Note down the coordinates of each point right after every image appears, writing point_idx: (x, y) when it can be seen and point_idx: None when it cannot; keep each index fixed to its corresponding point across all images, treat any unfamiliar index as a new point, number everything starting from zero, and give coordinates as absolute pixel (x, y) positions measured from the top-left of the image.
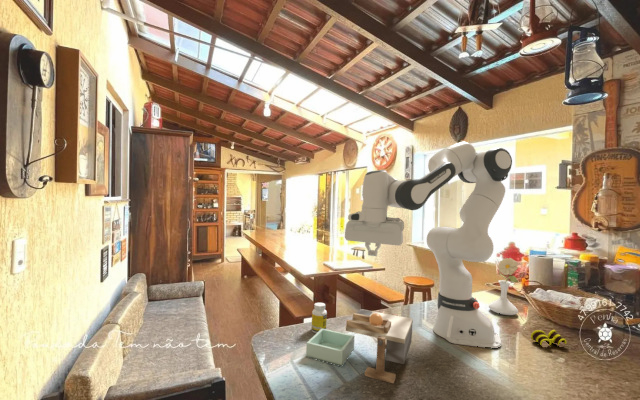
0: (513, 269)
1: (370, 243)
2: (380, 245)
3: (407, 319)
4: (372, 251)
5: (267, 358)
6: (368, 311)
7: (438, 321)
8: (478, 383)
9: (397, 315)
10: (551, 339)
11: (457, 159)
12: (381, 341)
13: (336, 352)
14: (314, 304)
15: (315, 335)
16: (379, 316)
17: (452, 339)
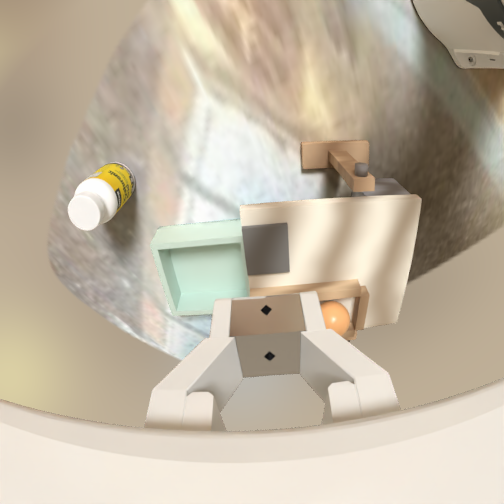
0: None
1: (213, 414)
2: (387, 393)
3: (407, 213)
4: (276, 369)
5: (131, 324)
6: (277, 233)
7: (444, 13)
8: (481, 215)
9: (374, 188)
10: None
11: None
12: (348, 341)
13: None
14: (73, 222)
15: (164, 283)
16: (343, 333)
17: (464, 62)
